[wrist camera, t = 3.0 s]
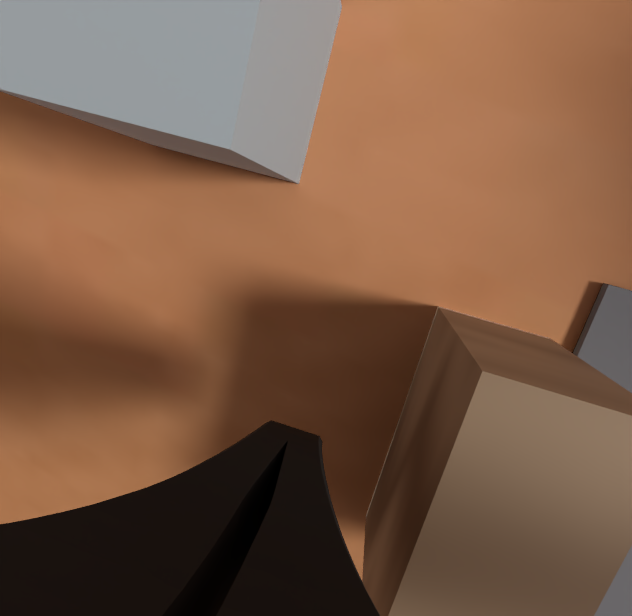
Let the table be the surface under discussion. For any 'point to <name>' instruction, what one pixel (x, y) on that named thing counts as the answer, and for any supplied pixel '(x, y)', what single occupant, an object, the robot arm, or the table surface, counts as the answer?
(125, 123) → the grey block
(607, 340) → the mat
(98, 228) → the table surface
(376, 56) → the table surface
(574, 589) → the walnut block
